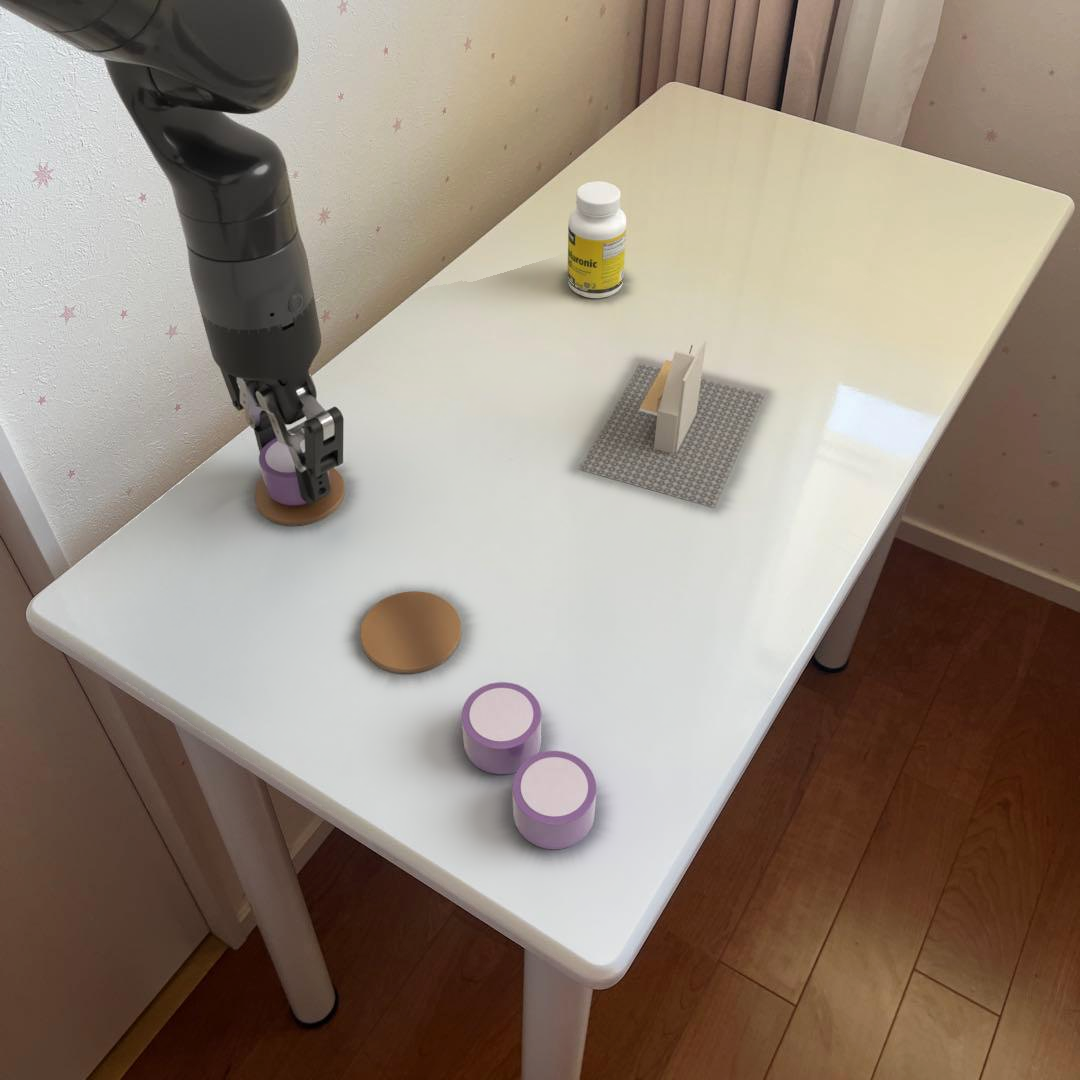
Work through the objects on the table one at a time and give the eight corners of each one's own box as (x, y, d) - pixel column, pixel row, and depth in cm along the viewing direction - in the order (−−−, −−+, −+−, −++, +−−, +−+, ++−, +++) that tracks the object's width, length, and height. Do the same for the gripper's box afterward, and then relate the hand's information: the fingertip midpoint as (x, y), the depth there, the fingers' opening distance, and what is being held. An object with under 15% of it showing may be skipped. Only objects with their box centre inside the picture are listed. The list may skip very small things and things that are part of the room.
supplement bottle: (555, 280, 107) (556, 188, 100) (599, 262, 110) (603, 170, 102) (590, 307, 104) (593, 213, 97) (634, 287, 107) (641, 194, 99)
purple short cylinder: (288, 515, 84) (281, 486, 81) (253, 481, 86) (245, 452, 84) (343, 484, 86) (337, 455, 84) (307, 452, 89) (301, 423, 86)
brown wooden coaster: (401, 691, 74) (400, 687, 74) (341, 630, 77) (340, 626, 77) (481, 636, 77) (481, 631, 77) (420, 580, 81) (419, 575, 80)
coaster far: (287, 539, 84) (285, 535, 83) (238, 492, 87) (236, 487, 87) (362, 496, 87) (361, 492, 86) (312, 452, 90) (311, 447, 90)
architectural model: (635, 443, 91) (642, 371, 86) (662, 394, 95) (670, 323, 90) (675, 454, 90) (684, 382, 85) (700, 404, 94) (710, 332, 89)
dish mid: (498, 789, 69) (496, 762, 67) (448, 738, 71) (445, 711, 69) (557, 743, 71) (557, 716, 69) (506, 695, 74) (505, 668, 71)
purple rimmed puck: (551, 865, 65) (551, 840, 63) (496, 809, 68) (494, 783, 66) (611, 814, 68) (613, 788, 65) (556, 762, 70) (556, 735, 68)
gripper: (151, 269, 75) (206, 454, 88) (265, 365, 68) (308, 552, 80) (246, 229, 79) (287, 413, 91) (364, 317, 71) (391, 504, 84)
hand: (296, 477), depth 86 cm, fingers closed on purple short cylinder, 5 cm apart
